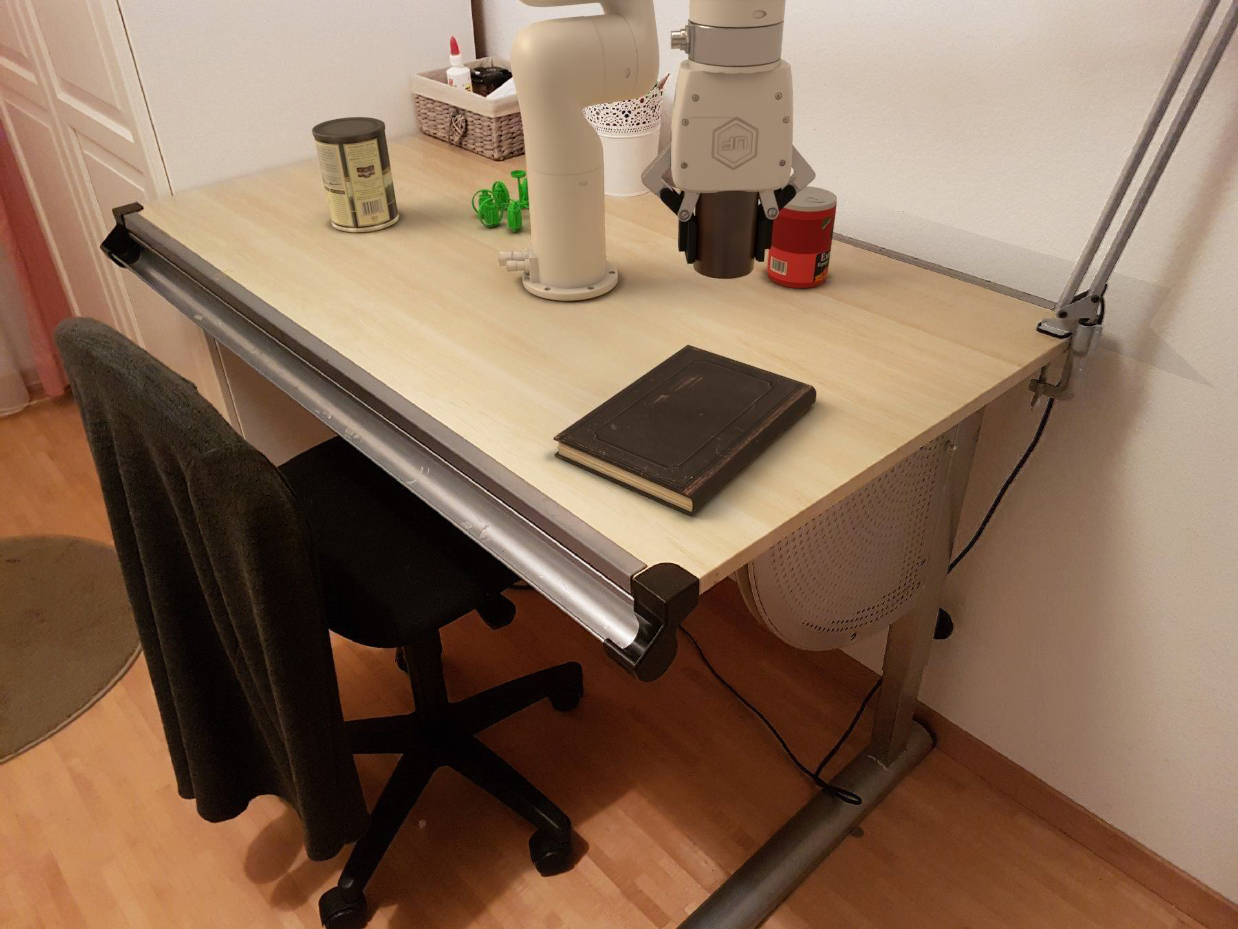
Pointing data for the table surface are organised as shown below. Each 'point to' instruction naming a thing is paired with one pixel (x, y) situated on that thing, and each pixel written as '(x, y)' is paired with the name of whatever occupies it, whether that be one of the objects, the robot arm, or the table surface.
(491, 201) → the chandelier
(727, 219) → the walnut cylinder
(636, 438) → the hardcover book
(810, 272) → the canned food
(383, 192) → the coffee can
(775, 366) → the table surface
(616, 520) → the table surface
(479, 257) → the table surface
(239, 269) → the table surface
